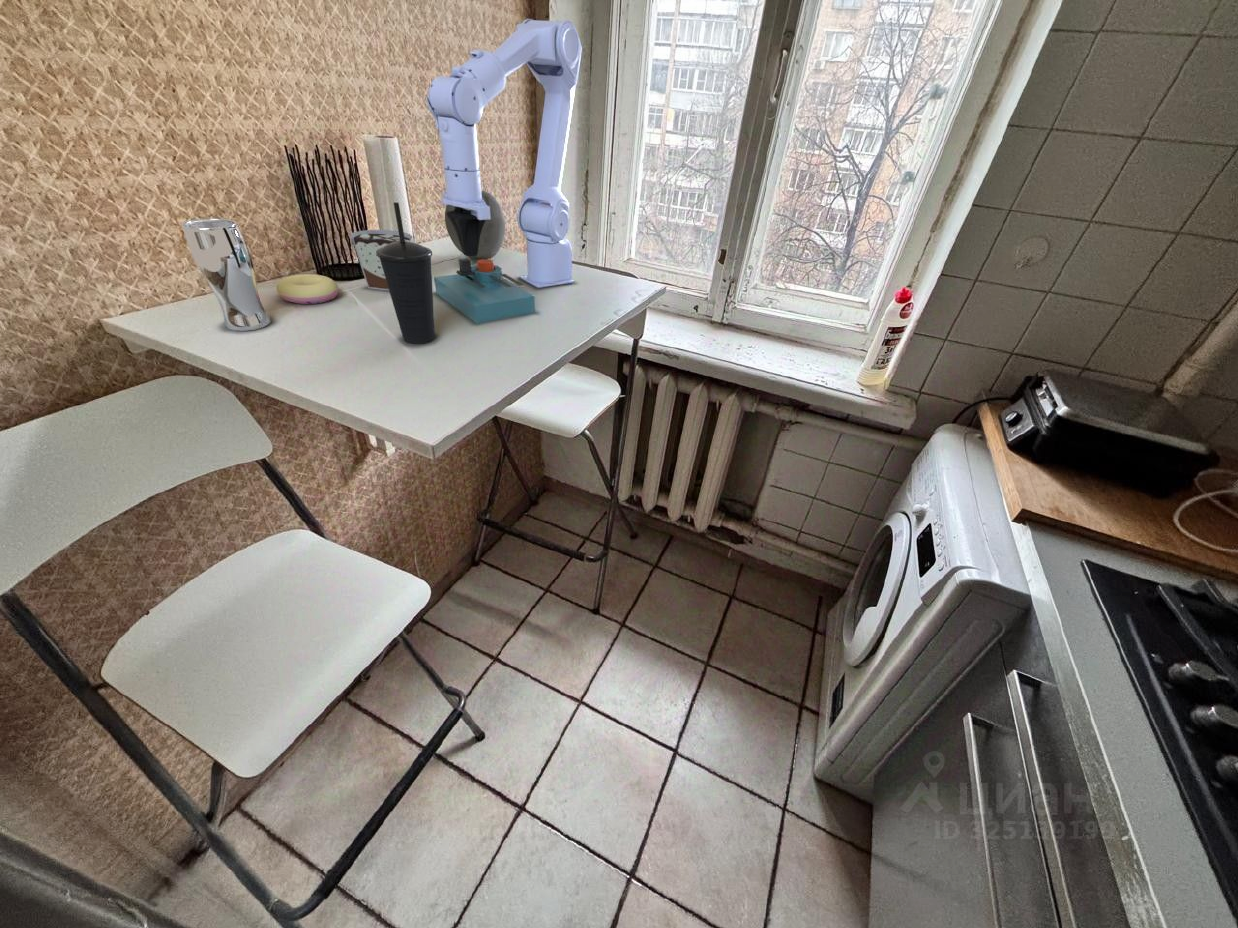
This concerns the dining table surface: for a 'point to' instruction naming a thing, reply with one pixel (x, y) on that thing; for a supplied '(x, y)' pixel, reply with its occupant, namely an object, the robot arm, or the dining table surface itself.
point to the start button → (485, 265)
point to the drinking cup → (410, 286)
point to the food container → (374, 253)
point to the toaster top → (497, 280)
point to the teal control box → (484, 296)
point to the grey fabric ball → (483, 229)
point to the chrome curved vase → (227, 271)
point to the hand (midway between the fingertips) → (470, 255)
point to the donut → (307, 288)
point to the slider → (465, 267)
